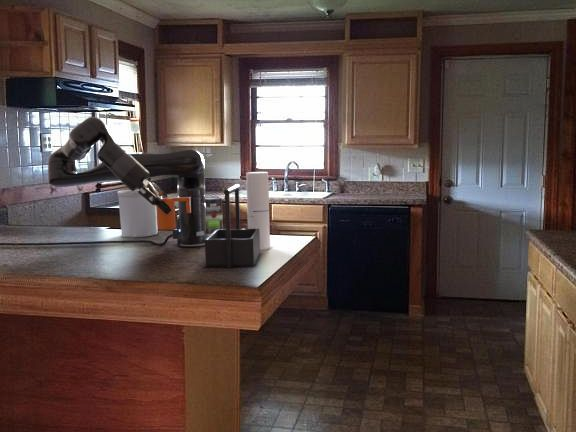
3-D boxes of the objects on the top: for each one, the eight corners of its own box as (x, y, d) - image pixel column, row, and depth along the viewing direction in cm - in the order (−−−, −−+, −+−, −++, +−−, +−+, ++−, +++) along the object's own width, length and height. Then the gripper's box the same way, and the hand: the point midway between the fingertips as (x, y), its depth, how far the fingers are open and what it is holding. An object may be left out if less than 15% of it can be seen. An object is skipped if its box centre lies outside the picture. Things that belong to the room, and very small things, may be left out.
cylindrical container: (267, 250, 207) (265, 172, 204) (245, 249, 208) (243, 173, 205) (272, 246, 214) (270, 171, 211) (251, 246, 215) (249, 172, 212)
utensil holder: (139, 238, 240) (137, 192, 238) (111, 236, 248) (109, 191, 246) (166, 233, 252) (164, 189, 250) (139, 231, 260) (137, 188, 258)
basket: (205, 268, 178) (201, 189, 176) (217, 253, 202) (215, 184, 200) (253, 267, 178) (251, 188, 175) (260, 252, 202) (258, 183, 199)
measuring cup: (155, 229, 187) (153, 198, 186) (159, 227, 192) (158, 197, 191) (189, 229, 187) (188, 198, 186) (192, 226, 192) (191, 196, 191)
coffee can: (227, 234, 245) (226, 198, 243) (201, 236, 240) (200, 199, 239) (217, 231, 254) (216, 196, 253) (192, 233, 249) (191, 197, 248)
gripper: (128, 179, 196) (168, 217, 197) (113, 182, 181) (157, 223, 182) (144, 161, 195) (185, 199, 196) (131, 163, 181) (175, 204, 181)
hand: (171, 210), depth 189 cm, fingers closed on measuring cup, 5 cm apart
